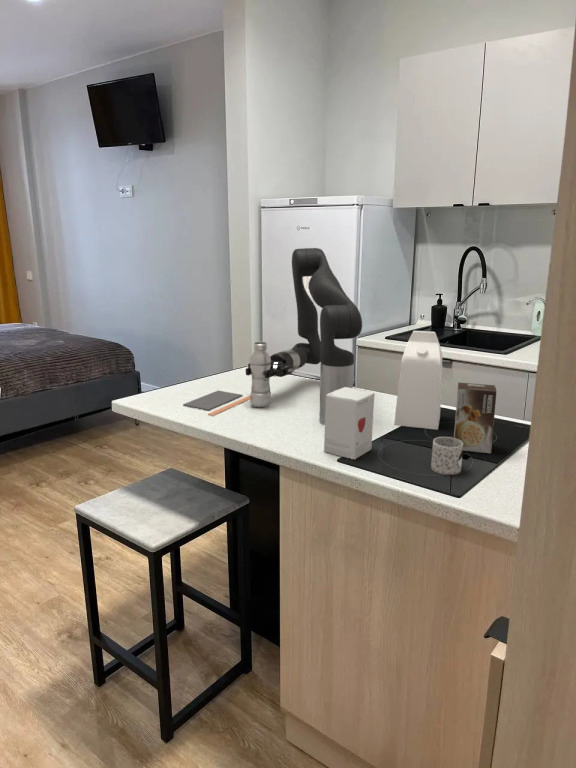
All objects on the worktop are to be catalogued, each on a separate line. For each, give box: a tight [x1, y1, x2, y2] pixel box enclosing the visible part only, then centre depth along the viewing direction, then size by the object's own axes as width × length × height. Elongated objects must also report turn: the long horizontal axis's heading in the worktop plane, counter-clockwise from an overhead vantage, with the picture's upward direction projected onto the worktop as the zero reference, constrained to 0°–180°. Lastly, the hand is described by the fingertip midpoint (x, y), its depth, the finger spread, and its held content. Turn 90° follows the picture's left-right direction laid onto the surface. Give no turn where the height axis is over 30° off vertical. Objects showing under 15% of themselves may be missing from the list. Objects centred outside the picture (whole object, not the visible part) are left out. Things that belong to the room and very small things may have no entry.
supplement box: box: [323, 387, 375, 461], centre depth 136 cm, size 9×9×15 cm
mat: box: [182, 390, 244, 412], centre depth 177 cm, size 10×18×1 cm, turn 150°
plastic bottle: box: [249, 341, 273, 408], centre depth 170 cm, size 6×7×20 cm
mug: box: [430, 436, 463, 476], centre depth 129 cm, size 10×7×7 cm
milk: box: [393, 330, 443, 431], centre depth 157 cm, size 12×12×26 cm
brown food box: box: [453, 382, 497, 454], centre depth 138 cm, size 9×6×16 cm
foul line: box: [207, 395, 250, 417], centre depth 174 cm, size 2×24×1 cm, turn 150°
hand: (256, 373), depth 167 cm, fingers closed on plastic bottle, 6 cm apart
